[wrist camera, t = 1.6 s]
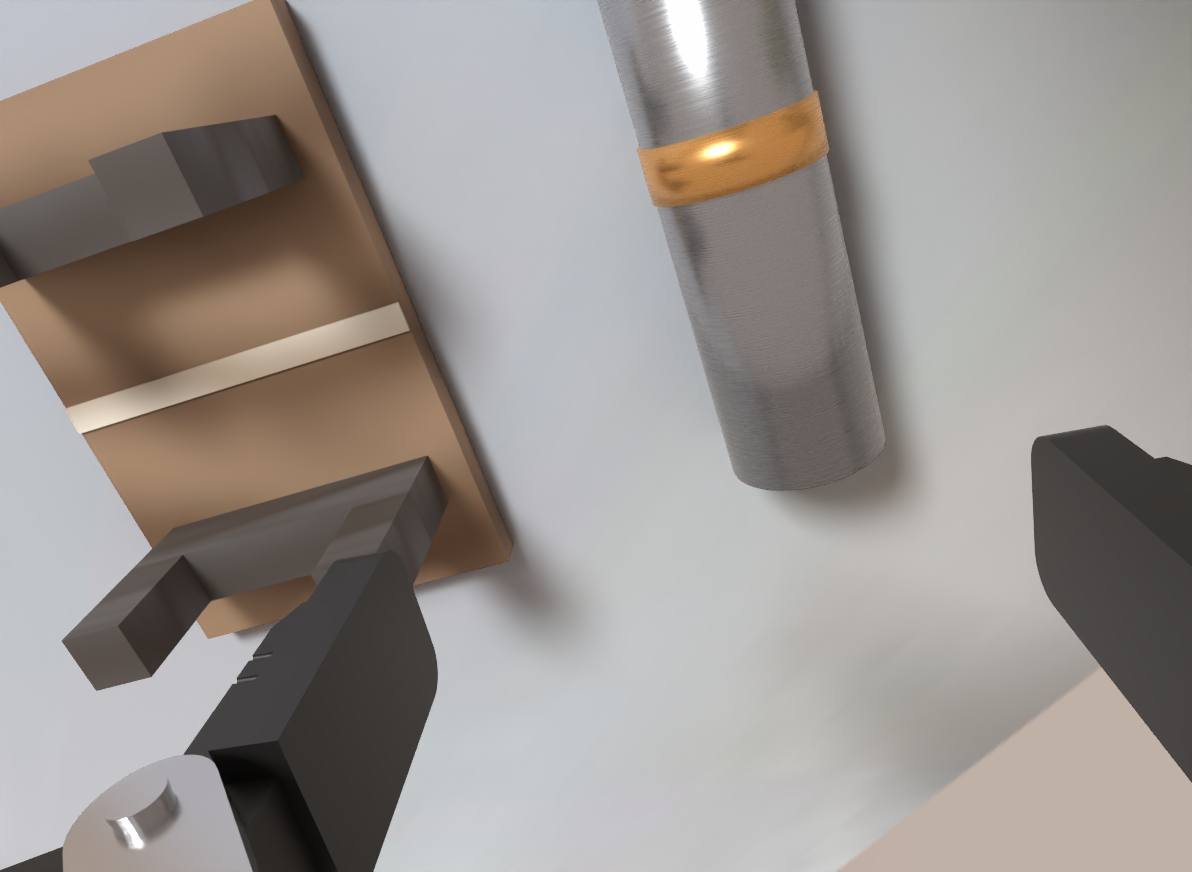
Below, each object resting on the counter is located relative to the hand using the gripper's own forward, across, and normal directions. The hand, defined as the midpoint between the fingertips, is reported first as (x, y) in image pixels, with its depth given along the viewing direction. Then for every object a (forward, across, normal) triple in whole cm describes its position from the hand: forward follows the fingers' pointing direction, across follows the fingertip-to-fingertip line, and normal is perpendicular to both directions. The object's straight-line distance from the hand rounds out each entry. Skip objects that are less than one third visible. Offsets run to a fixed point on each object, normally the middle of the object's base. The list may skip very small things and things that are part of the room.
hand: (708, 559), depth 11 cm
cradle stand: (+19, +16, 0) cm, 24 cm away
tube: (+19, -2, -4) cm, 19 cm away
